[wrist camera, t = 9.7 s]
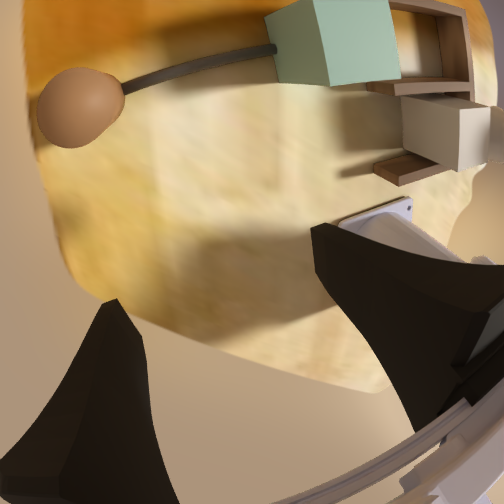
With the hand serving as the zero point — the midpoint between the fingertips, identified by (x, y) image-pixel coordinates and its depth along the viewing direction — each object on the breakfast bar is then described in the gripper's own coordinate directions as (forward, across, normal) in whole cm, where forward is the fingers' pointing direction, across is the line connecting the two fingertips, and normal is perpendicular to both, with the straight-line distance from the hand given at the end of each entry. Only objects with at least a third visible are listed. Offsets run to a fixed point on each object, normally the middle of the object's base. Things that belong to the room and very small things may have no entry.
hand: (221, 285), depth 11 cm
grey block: (+10, -20, -1) cm, 22 cm away
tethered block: (+10, -3, -7) cm, 13 cm away
